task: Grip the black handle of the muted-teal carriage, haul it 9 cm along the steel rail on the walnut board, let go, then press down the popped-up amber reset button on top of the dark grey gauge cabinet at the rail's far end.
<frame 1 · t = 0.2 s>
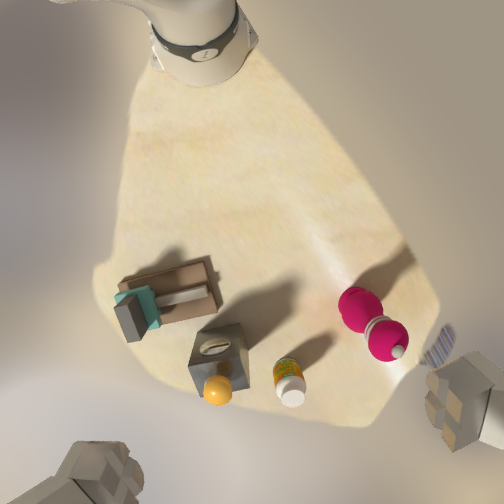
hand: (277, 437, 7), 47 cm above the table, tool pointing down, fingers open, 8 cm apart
gauge cabinet: (222, 342, 58), on the table
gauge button: (217, 390, 43), point 15 cm above the table, slide at 2.0 cm
carriage: (135, 313, 50), point 6 cm above the table, slide at 0.0 cm
supplement bottle: (286, 368, 60), on the table
pepper mill: (353, 302, 57), on the table
rail board: (167, 295, 56), on the table
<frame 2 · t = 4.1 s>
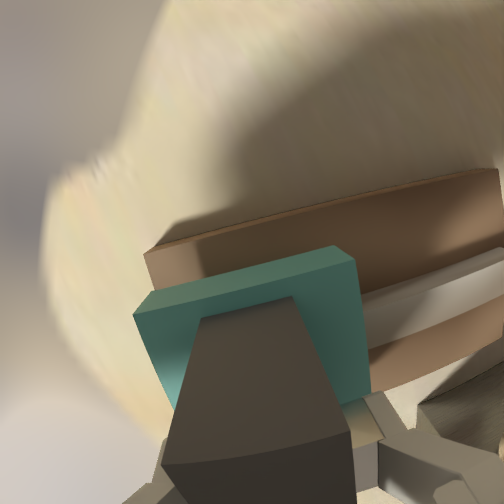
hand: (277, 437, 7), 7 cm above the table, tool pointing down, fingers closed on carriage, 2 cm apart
gauge cabinet: (465, 412, 16), on the table
carriage: (274, 413, 8), point 6 cm above the table, slide at 0.0 cm, touching gripper
rail board: (358, 298, 14), on the table
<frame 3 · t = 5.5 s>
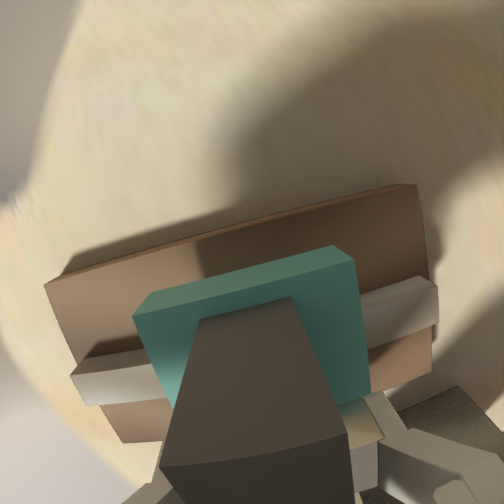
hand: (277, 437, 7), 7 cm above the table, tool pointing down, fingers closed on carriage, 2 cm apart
gauge cabinet: (401, 442, 16), on the table
carriage: (273, 413, 8), point 6 cm above the table, slide at 5.1 cm, touching gripper
rail board: (248, 328, 14), on the table
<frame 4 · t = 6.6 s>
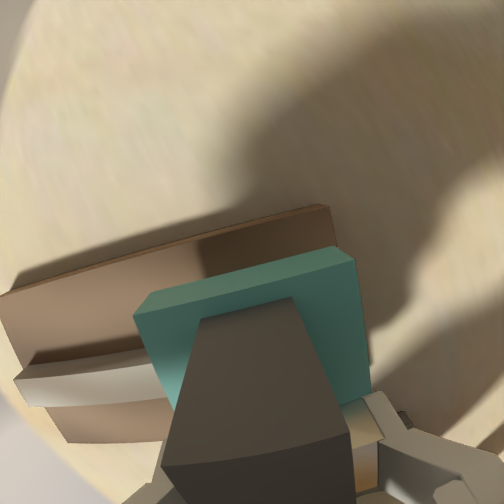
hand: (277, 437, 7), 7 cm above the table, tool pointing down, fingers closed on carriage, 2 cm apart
gauge cabinet: (343, 463, 16), on the table
carriage: (274, 413, 8), point 6 cm above the table, slide at 8.9 cm, touching gripper
rail board: (166, 346, 14), on the table
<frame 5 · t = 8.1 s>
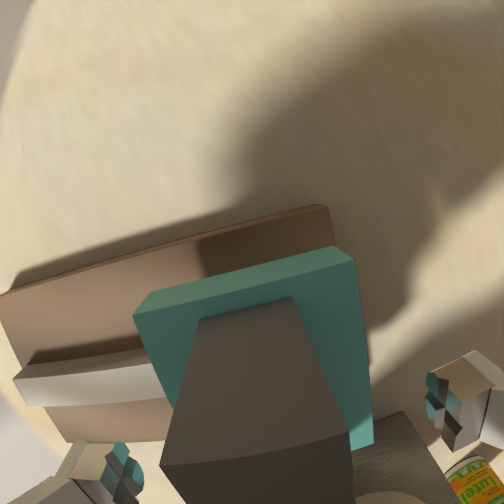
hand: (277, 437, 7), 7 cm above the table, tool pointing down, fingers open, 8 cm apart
gauge cabinet: (342, 463, 16), on the table
carriage: (273, 413, 8), point 6 cm above the table, slide at 9.0 cm
supplement bottle: (456, 474, 18), on the table
rail board: (165, 346, 14), on the table
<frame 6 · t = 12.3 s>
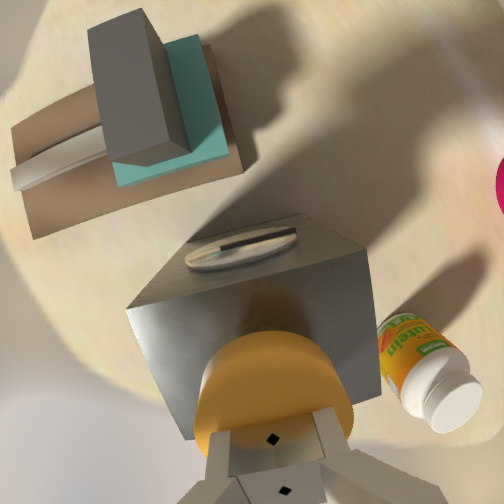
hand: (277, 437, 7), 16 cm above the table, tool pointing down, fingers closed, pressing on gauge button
gauge cabinet: (253, 270, 22), on the table
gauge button: (272, 410, 8), point 15 cm above the table, slide at 1.2 cm, touching gripper
carriage: (152, 102, 14), point 6 cm above the table, slide at 9.0 cm
supplement bottle: (397, 340, 24), on the table
rail board: (115, 144, 20), on the table
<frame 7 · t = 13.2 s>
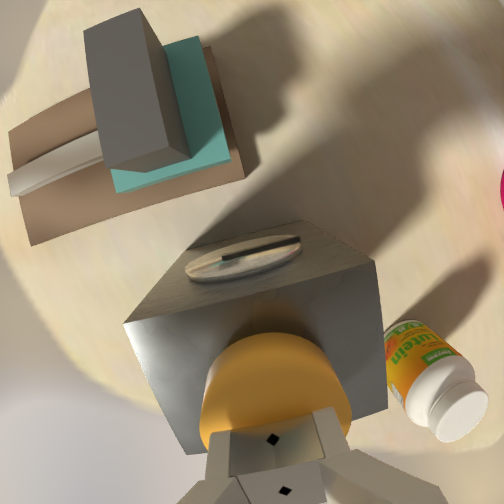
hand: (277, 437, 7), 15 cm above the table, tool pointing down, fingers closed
gauge cabinet: (255, 278, 22), on the table
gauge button: (273, 408, 8), point 14 cm above the table, slide at 0.3 cm
carriage: (151, 106, 14), point 6 cm above the table, slide at 9.0 cm
supplement bottle: (401, 347, 24), on the table
rail board: (114, 149, 20), on the table
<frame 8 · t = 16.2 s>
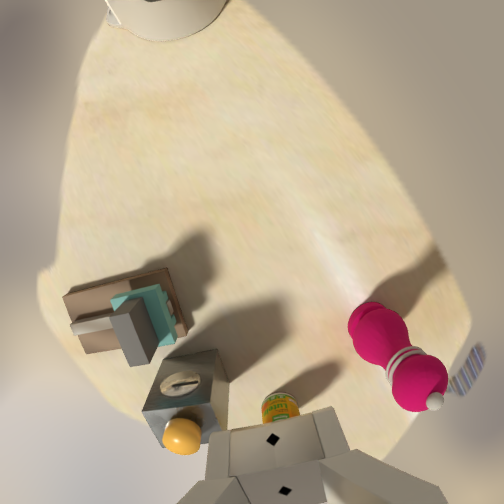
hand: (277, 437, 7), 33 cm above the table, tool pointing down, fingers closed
gauge cabinet: (196, 372, 43), on the table
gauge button: (182, 436, 30), point 14 cm above the table, slide at 0.3 cm
carriage: (140, 324, 35), point 6 cm above the table, slide at 9.0 cm
supplement bottle: (279, 404, 45), on the table
pepper mill: (367, 321, 43), on the table
rail board: (123, 312, 41), on the table
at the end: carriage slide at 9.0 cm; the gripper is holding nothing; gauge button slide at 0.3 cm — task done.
